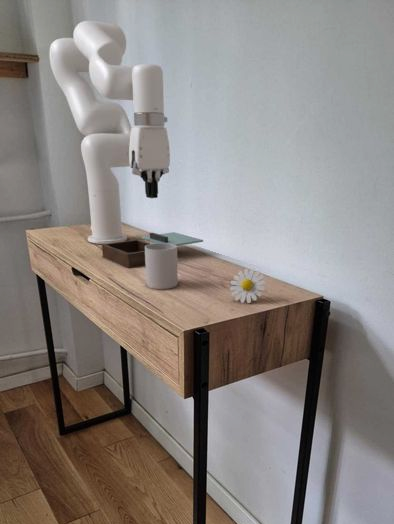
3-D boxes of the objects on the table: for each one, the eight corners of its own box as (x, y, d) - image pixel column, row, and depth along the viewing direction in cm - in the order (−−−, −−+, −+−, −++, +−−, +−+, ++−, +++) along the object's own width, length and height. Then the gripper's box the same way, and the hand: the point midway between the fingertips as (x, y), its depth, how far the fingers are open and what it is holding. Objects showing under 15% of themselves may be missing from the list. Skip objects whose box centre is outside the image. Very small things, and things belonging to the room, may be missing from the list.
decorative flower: (226, 253, 109) (262, 269, 96) (243, 270, 112) (280, 287, 100) (205, 280, 109) (238, 299, 97) (222, 296, 113) (256, 316, 100)
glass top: (141, 238, 142) (141, 231, 141) (174, 233, 148) (173, 227, 147) (169, 247, 131) (169, 239, 130) (203, 241, 137) (203, 234, 136)
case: (102, 257, 136) (101, 244, 134) (138, 251, 142) (137, 239, 141) (128, 268, 125) (127, 254, 124) (165, 261, 132) (165, 248, 130)
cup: (152, 291, 107) (150, 251, 103) (139, 279, 115) (137, 242, 112) (182, 287, 110) (181, 248, 106) (167, 276, 118) (166, 239, 114)
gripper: (165, 122, 128) (167, 194, 136) (115, 121, 120) (120, 198, 127) (182, 121, 123) (182, 196, 130) (131, 121, 114) (135, 201, 122)
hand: (151, 197), depth 129 cm, fingers closed
